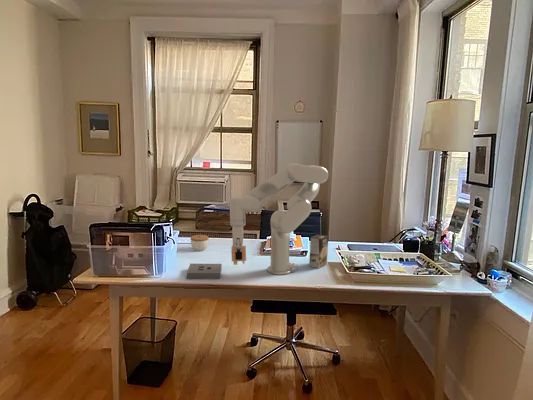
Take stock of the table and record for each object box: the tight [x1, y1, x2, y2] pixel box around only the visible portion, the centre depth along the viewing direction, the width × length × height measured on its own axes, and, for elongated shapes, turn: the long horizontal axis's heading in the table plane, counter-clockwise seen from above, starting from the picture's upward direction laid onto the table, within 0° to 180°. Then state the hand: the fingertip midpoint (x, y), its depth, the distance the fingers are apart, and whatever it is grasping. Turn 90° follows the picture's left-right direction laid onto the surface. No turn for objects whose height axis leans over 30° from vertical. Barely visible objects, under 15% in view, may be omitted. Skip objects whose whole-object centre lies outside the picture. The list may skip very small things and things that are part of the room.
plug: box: [230, 245, 247, 266], centre depth 196 cm, size 7×6×8 cm
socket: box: [186, 263, 223, 280], centre depth 196 cm, size 16×14×3 cm
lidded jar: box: [190, 234, 210, 252], centre depth 237 cm, size 11×11×9 cm
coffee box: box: [309, 234, 329, 269], centre depth 213 cm, size 9×6×16 cm
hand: (238, 257), depth 196 cm, fingers closed on plug, 6 cm apart
